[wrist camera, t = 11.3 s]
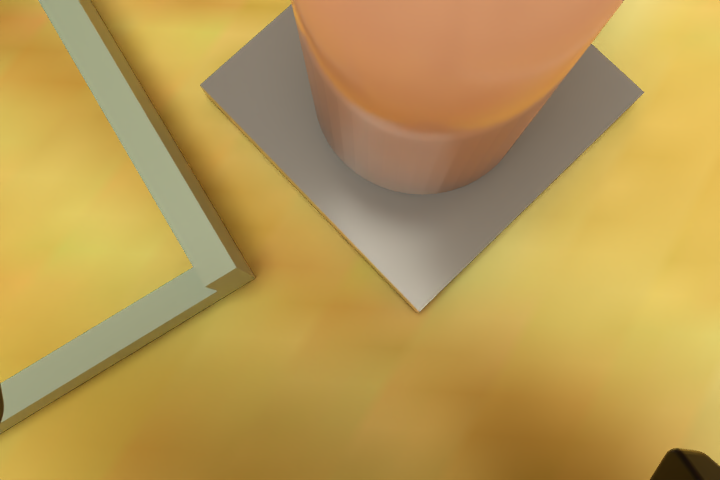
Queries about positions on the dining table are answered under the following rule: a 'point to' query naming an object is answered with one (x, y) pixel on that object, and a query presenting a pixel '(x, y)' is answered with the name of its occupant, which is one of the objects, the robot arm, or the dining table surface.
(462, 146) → the pink cup
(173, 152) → the cold frame
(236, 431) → the dining table surface
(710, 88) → the dining table surface
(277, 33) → the metal tile
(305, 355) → the dining table surface
